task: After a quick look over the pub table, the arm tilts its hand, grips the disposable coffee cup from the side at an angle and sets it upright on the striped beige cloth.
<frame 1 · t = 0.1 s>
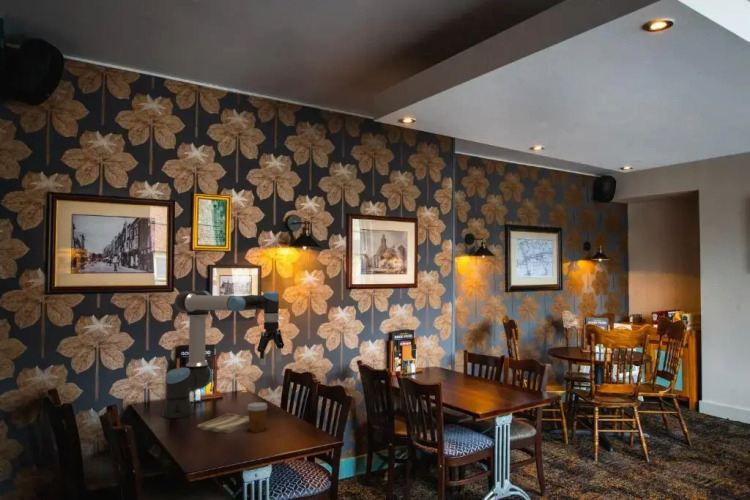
hand: (270, 363, 263), 28 cm above the table, tool pointing down, fingers open, 13 cm apart
striped beige cloth: (227, 425, 250), on the table
disposable coffee cup: (257, 430, 242), on the table
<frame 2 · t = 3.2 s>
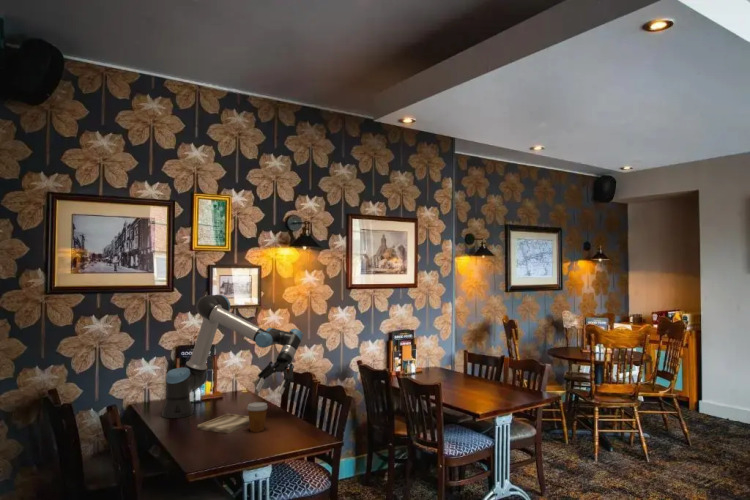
hand: (268, 391, 251), 16 cm above the table, tool tilted 45°, fingers open, 13 cm apart
nothing on the table moved.
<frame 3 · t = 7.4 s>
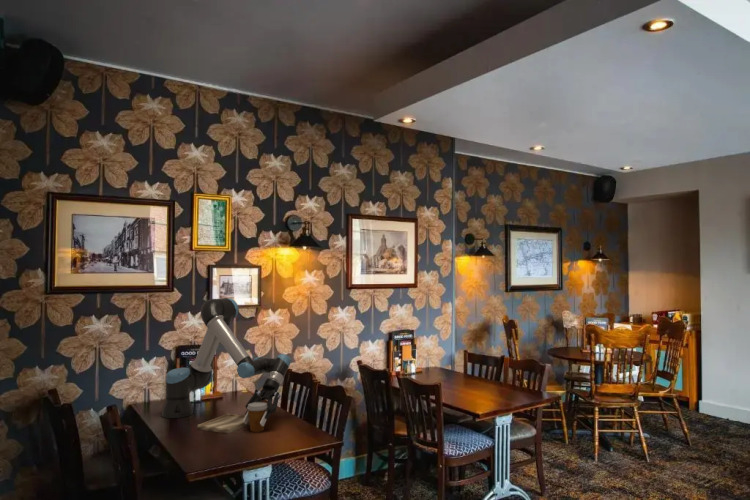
hand: (253, 423, 239), 4 cm above the table, tool tilted 45°, fingers closed on disposable coffee cup, 9 cm apart
disposable coffee cup: (257, 430, 242), on the table, touching gripper
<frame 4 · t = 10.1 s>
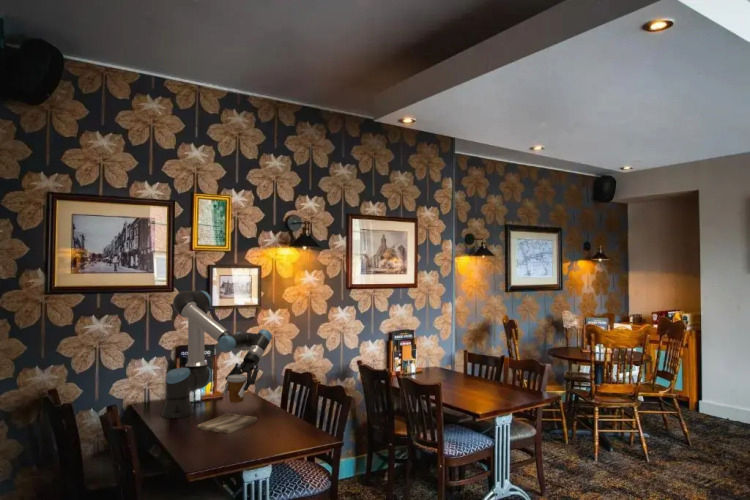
hand: (232, 394, 246), 16 cm above the table, tool tilted 45°, fingers closed on disposable coffee cup, 9 cm apart
disposable coffee cup: (236, 401, 248), point 12 cm above the table, touching gripper
when the fingers open (6 cm above the table, at t = 13.0 s): disposable coffee cup moves 3 cm, resting on striped beige cloth.
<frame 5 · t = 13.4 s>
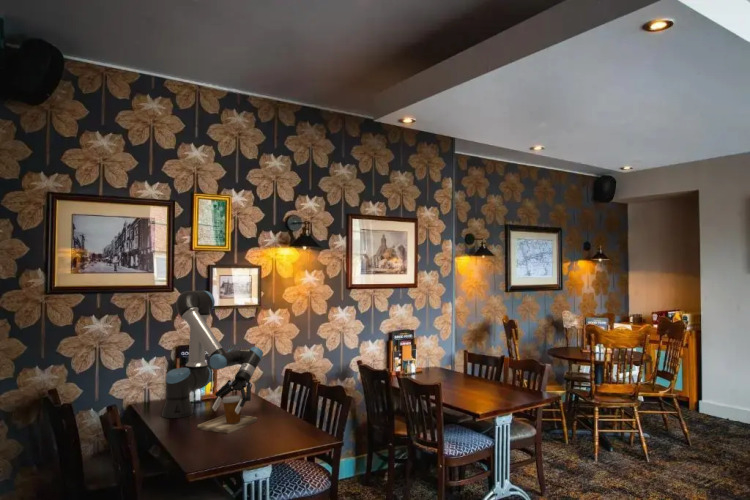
hand: (224, 411, 248), 7 cm above the table, tool tilted 45°, fingers open, 13 cm apart
disposable coffee cup: (233, 422, 250), point 1 cm above the table, touching gripper, striped beige cloth
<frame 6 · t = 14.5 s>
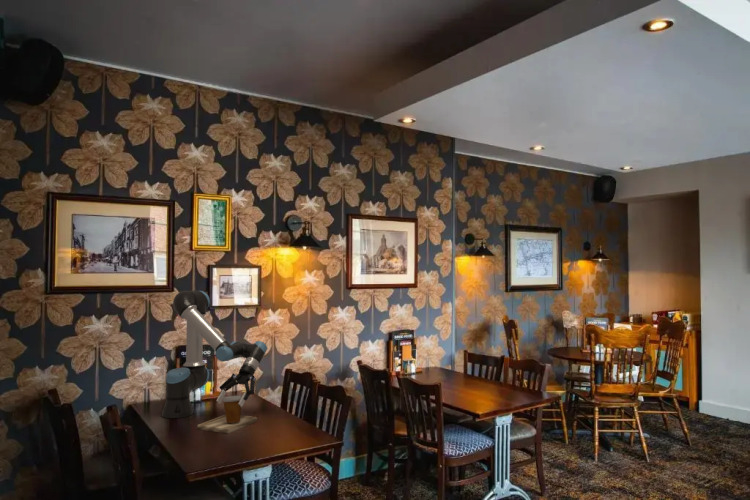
hand: (228, 404, 252), 10 cm above the table, tool tilted 45°, fingers open, 13 cm apart
disposable coffee cup: (233, 422, 250), point 2 cm above the table, touching striped beige cloth
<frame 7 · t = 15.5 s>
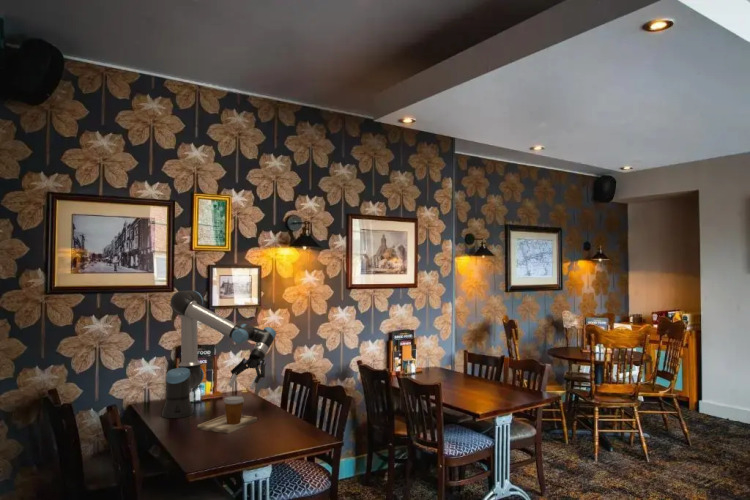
hand: (240, 386, 260), 17 cm above the table, tool tilted 45°, fingers open, 13 cm apart
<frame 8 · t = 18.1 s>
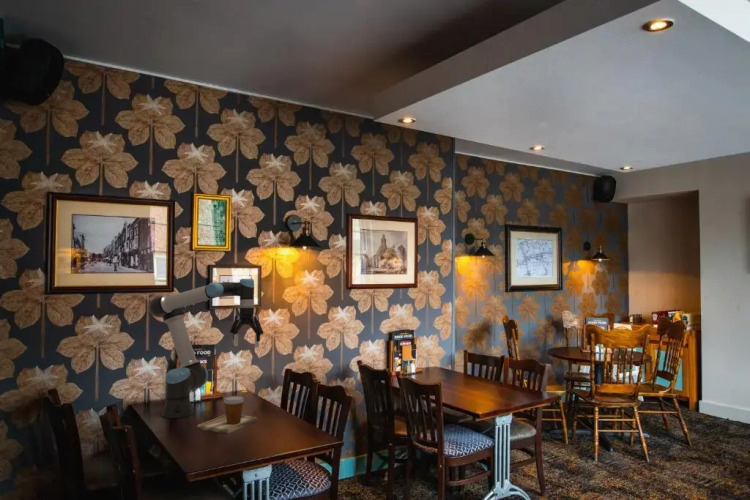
hand: (246, 346, 276), 35 cm above the table, tool pointing down, fingers open, 13 cm apart
at the end: disposable coffee cup inside the target area on the striped beige cloth (2.9 cm from its centre), point 1.0 cm above the striped beige cloth's base; disposable coffee cup tilted 0°; the gripper is holding nothing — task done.
